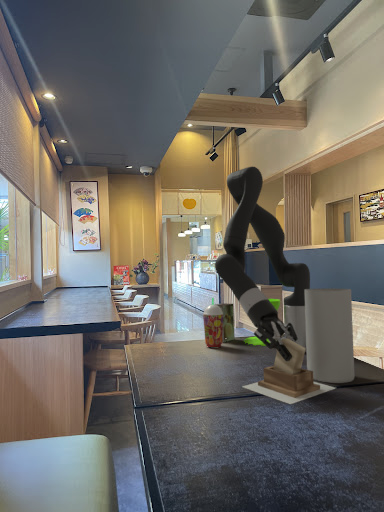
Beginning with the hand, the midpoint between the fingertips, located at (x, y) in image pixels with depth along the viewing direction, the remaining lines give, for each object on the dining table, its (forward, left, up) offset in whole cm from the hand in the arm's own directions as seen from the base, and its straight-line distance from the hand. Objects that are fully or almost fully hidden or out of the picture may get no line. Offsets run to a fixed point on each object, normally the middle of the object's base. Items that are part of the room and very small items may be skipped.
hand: (294, 357), depth 92 cm
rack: (0, -2, -8) cm, 8 cm away
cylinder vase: (-17, -1, -9) cm, 19 cm away
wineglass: (-40, -49, -9) cm, 64 cm away
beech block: (0, -3, -6) cm, 7 cm away
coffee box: (-30, -63, -9) cm, 71 cm away
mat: (0, -2, -8) cm, 9 cm away
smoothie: (-18, -55, -9) cm, 59 cm away
